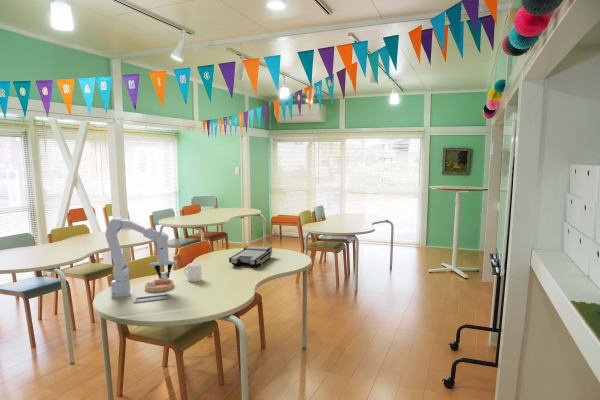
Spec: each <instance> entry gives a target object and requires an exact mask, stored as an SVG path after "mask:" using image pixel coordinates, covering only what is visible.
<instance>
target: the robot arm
mask: <svg viewBox="0 0 600 400" xmlns="http://www.w3.org/2000/svg"><path fill="white" fill-rule="evenodd" d="M106 225H107V228H106V230H105V238H106V242H107V244H108V248H109V252H110V254H111V259H112V261H113V268H112V270H113V275H112V276H113V277H112V278H113V280H111V283H110V289H111V298H119V297H129V296H131V295H132V293H133V291H132V290H131V281H130V280H131V279H130V274H131V268H130V266H128V263H127V262H126V261H125V260H124V256H123V253H122V249H121V246H120V241H119V239H118V234H119V232H120V231H121V230H124V229H131V230H132V231H135V232H138V233H141V234H142V235H143V237H145V238H147V239H149V240H151V241H153V242H155V244H156V245H157V246H156V247H157V250H156V251H157V261H155V262H150V263H149V268H152V267H154V270H155V271H156V274H157V276H158V279H161V277H160V273H161V266H162V267H163V266H167V267H166V268H167V272H168V279H169V278H170V274H171V270H172V268H173V265H174V266H177V265H178V260H170V258H169V246H168V245H169V244H168V243H169V242H168V240H169V235H168V234H167V233H166V232H162V231H158V230H156V229H154V227H152V226H151V227H150V226H149V227H148V226H147V227H144V226H142V225H140V224H139V223H136V222H134V221H132V220H130V219H129V218H127V217H126V218H125V217H124V216H117V217H115V218H113V219H111V220H110V221H109V222H108V223H107V224H106Z"/></svg>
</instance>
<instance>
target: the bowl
mask: <svg viewBox="0 0 600 400" xmlns="http://www.w3.org/2000/svg"><path fill="white" fill-rule="evenodd" d="M152 281H155V287H148V284H147V282H146V283H145V284H144V291H146V292H148V293H161V292H167V291H170V290H171V289H173V288H174V287H175V286H174V285H175V284H174V280H173V279H169V278H168V280H166V281H161V279H159V278H157V279H154V280H152Z"/></svg>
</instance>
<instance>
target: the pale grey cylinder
mask: <svg viewBox="0 0 600 400" xmlns="http://www.w3.org/2000/svg"><path fill="white" fill-rule="evenodd" d="M160 277H161V281H166V280H168V279H169V278H168V271H162V272H161V271H160Z"/></svg>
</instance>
